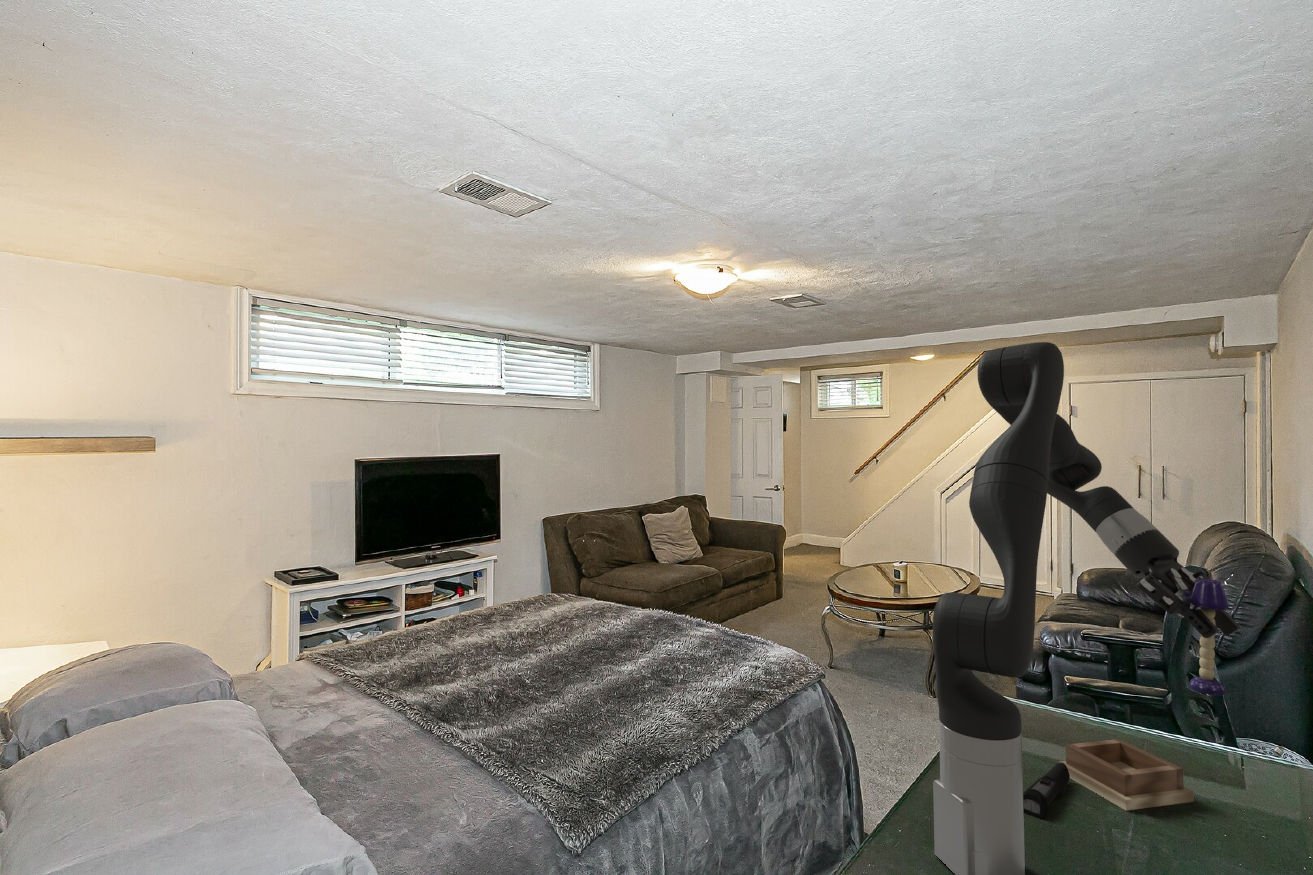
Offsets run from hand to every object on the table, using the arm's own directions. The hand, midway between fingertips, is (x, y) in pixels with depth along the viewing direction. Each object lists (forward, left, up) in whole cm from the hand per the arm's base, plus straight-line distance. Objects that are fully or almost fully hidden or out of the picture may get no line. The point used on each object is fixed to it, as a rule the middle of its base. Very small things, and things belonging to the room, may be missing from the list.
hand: (1223, 633), depth 95 cm
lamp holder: (-11, +7, -25) cm, 28 cm away
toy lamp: (0, +2, -9) cm, 9 cm away
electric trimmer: (-25, +7, -25) cm, 36 cm away
